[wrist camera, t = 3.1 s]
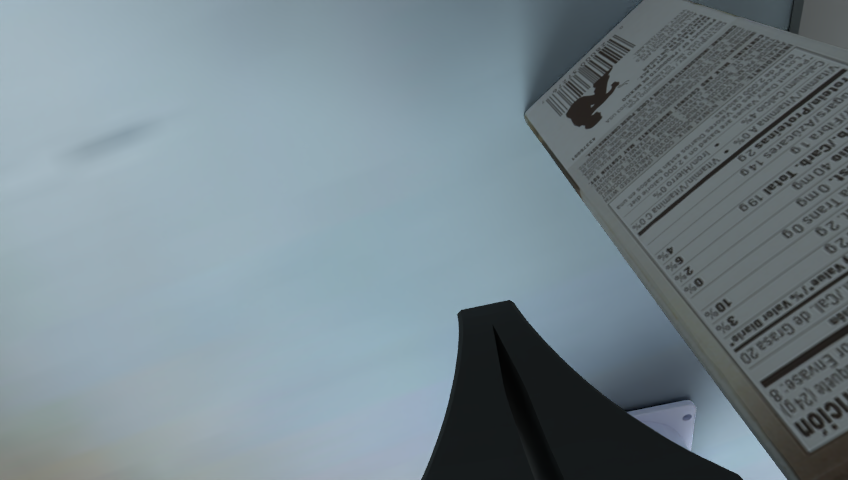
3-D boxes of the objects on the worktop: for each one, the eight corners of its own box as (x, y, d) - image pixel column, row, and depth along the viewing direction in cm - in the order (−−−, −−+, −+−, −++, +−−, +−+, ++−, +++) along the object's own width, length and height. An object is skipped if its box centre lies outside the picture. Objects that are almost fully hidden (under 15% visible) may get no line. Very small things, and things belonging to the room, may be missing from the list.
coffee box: (775, 147, 23) (1406, 524, 9) (646, 248, 25) (1001, 680, 11) (655, -21, 19) (1447, 193, 5) (514, 115, 21) (810, 529, 7)
